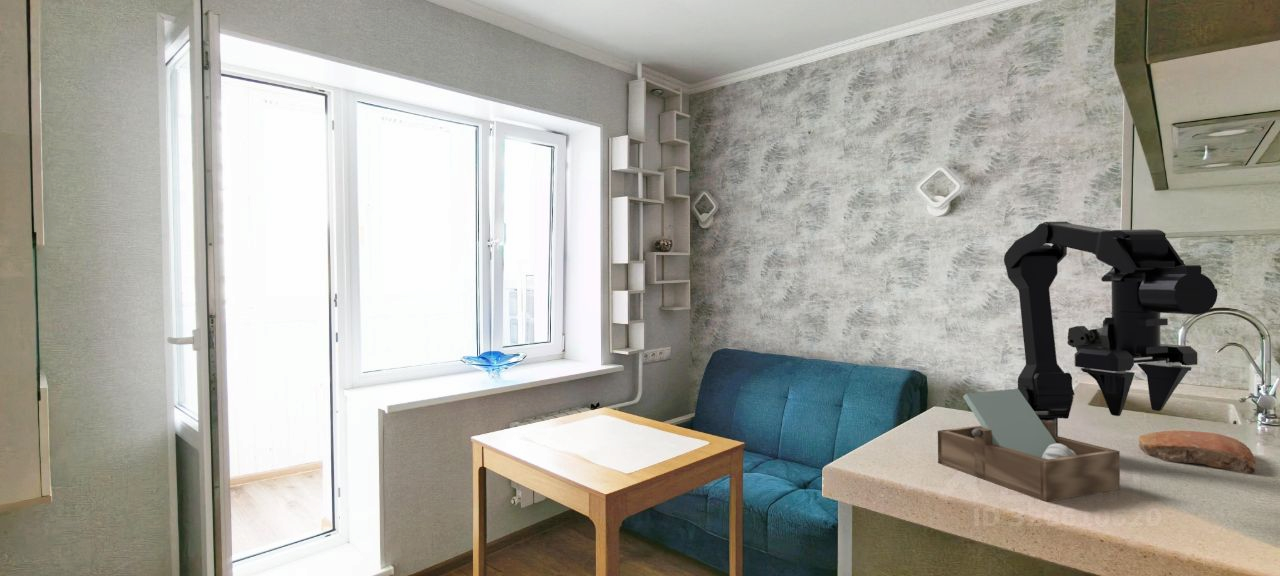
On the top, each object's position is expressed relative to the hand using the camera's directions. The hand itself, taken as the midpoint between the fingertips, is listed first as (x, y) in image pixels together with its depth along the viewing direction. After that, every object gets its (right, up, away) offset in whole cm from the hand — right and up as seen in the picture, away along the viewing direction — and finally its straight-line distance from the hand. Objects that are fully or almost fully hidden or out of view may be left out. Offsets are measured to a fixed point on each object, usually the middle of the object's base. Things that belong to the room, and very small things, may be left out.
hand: (1136, 413), depth 91 cm
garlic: (-11, -9, +5) cm, 14 cm away
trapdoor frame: (-12, -12, +8) cm, 19 cm away
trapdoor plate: (-13, -5, +10) cm, 17 cm away
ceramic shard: (+24, -12, +17) cm, 32 cm away
